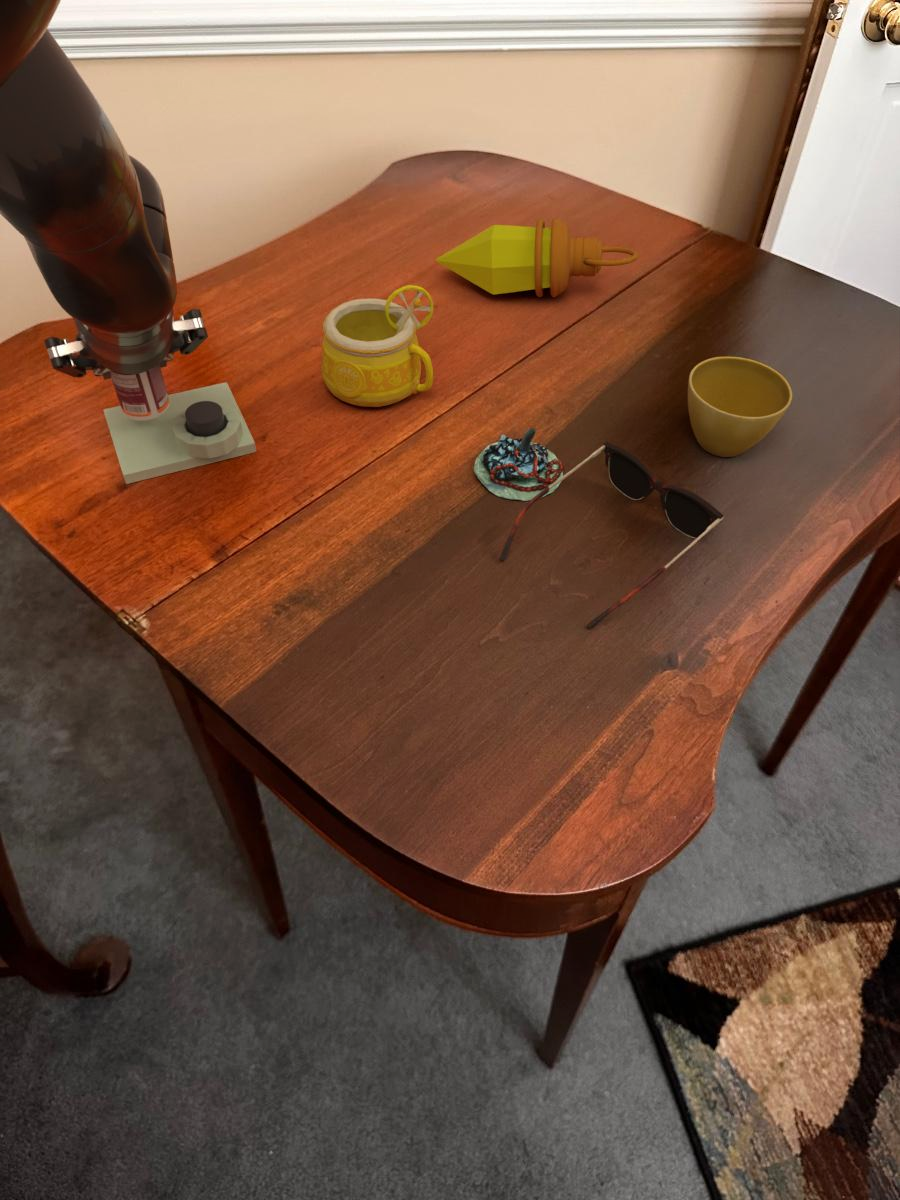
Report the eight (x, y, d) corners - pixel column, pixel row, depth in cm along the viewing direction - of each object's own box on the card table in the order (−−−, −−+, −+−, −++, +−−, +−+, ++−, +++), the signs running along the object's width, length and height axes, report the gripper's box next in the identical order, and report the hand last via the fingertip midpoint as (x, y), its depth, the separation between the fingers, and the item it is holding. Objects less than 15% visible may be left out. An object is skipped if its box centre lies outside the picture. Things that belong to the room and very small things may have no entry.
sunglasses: (713, 549, 81) (726, 512, 77) (601, 647, 75) (608, 612, 71) (600, 475, 88) (607, 437, 84) (487, 559, 81) (489, 522, 77)
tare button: (193, 441, 85) (189, 427, 84) (184, 419, 87) (181, 405, 86) (229, 432, 86) (226, 418, 85) (220, 411, 88) (217, 397, 87)
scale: (127, 489, 84) (119, 465, 82) (106, 418, 91) (98, 394, 89) (258, 456, 88) (254, 433, 85) (228, 390, 95) (224, 367, 92)
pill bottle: (156, 387, 90) (136, 314, 84) (178, 410, 88) (159, 337, 81) (113, 405, 88) (89, 331, 82) (135, 428, 86) (112, 354, 79)
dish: (530, 412, 90) (537, 416, 82) (565, 472, 91) (575, 481, 84) (465, 454, 91) (466, 461, 83) (500, 511, 92) (504, 524, 85)
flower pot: (736, 488, 87) (758, 431, 82) (654, 441, 91) (669, 384, 86) (787, 443, 92) (811, 386, 86) (706, 400, 96) (724, 344, 91)
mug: (303, 398, 94) (292, 297, 85) (353, 347, 101) (347, 248, 92) (409, 433, 91) (409, 331, 82) (453, 377, 98) (457, 278, 88)
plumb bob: (430, 308, 108) (636, 305, 104) (425, 230, 102) (641, 224, 98) (441, 286, 115) (634, 283, 111) (437, 213, 110) (639, 207, 106)
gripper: (46, 381, 68) (69, 417, 84) (226, 343, 72) (215, 384, 88) (14, 286, 67) (44, 340, 83) (199, 252, 71) (193, 310, 87)
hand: (132, 362), depth 86 cm, fingers closed on pill bottle, 4 cm apart
